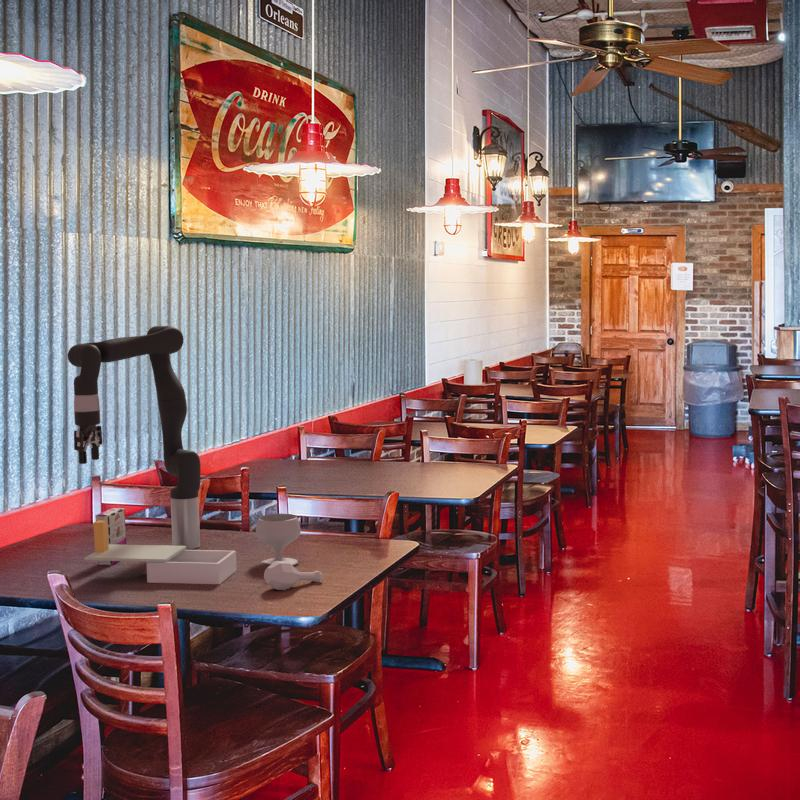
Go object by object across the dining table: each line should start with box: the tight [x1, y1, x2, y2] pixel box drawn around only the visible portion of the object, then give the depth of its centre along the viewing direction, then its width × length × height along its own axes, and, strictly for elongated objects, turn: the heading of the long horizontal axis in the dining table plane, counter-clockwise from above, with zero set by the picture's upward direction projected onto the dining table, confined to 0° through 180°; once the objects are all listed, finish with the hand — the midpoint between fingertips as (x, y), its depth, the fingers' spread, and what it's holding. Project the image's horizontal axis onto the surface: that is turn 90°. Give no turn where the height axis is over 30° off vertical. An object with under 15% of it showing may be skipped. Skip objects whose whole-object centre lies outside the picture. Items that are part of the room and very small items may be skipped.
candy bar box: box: [94, 507, 127, 566], centre depth 332 cm, size 11×5×16 cm, turn 168°
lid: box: [84, 520, 186, 562], centre depth 310 cm, size 17×25×10 cm
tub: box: [146, 549, 238, 585], centre depth 308 cm, size 16×22×7 cm
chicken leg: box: [263, 561, 324, 591], centre depth 299 cm, size 8×18×8 cm, turn 128°
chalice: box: [255, 513, 302, 567], centre depth 324 cm, size 14×14×15 cm
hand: (89, 461), depth 319 cm, fingers open, 8 cm apart
